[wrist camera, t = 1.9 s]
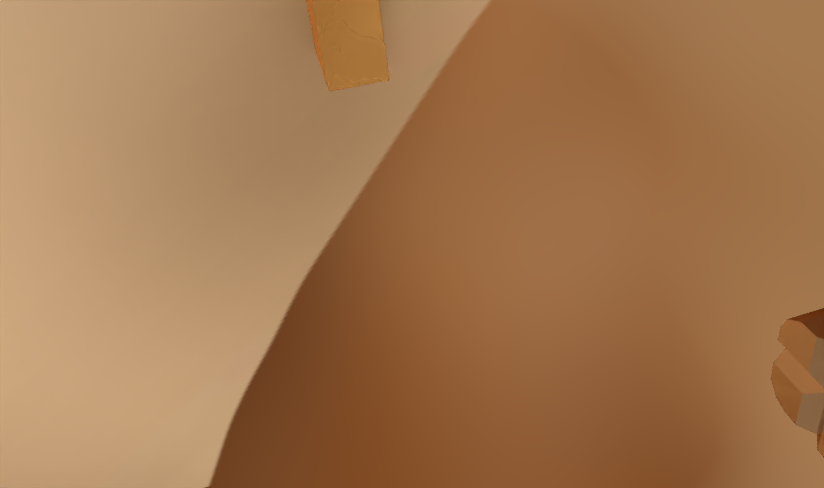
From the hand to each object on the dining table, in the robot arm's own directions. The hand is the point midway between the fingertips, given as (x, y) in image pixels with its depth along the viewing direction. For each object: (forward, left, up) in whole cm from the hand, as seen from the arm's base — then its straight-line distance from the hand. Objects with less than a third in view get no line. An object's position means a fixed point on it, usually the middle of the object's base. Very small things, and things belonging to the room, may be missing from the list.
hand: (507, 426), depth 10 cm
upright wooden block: (0, -1, -25) cm, 25 cm away
